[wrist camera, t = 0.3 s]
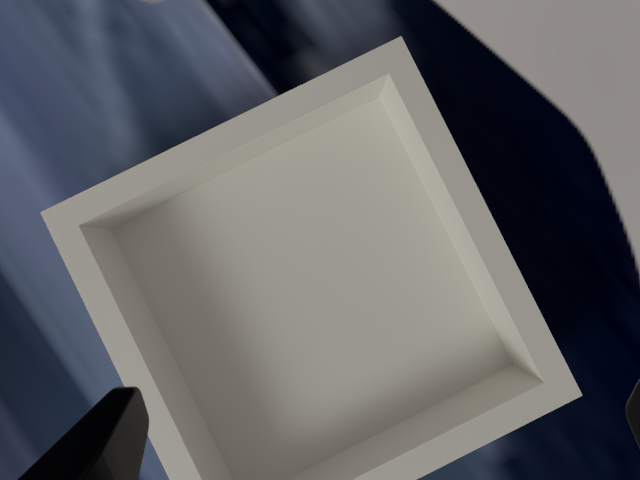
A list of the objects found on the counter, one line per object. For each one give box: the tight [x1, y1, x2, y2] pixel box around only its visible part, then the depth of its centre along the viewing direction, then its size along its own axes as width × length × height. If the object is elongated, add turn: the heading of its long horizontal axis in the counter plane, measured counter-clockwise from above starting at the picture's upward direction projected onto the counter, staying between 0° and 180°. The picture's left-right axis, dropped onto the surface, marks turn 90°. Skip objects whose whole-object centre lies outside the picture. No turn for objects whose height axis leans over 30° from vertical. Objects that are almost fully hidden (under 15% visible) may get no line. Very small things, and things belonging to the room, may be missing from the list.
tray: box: [40, 36, 582, 480], centre depth 21 cm, size 17×17×4 cm
